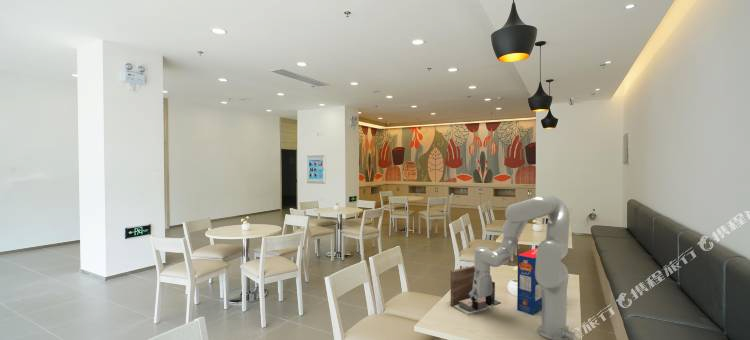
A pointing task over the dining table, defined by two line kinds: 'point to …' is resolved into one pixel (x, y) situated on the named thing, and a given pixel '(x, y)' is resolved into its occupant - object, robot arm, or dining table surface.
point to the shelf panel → (461, 284)
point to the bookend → (493, 301)
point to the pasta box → (528, 284)
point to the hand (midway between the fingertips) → (481, 306)
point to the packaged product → (467, 308)
